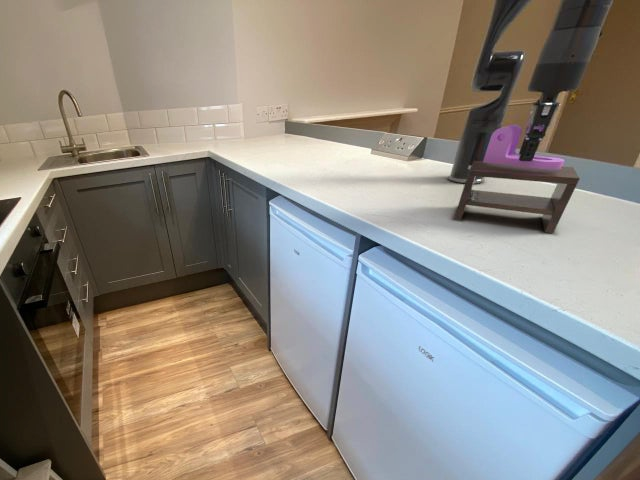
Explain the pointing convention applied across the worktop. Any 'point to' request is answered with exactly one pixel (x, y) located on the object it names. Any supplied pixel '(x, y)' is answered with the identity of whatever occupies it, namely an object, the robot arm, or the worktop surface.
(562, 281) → the worktop surface
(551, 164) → the bracket
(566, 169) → the shelf
